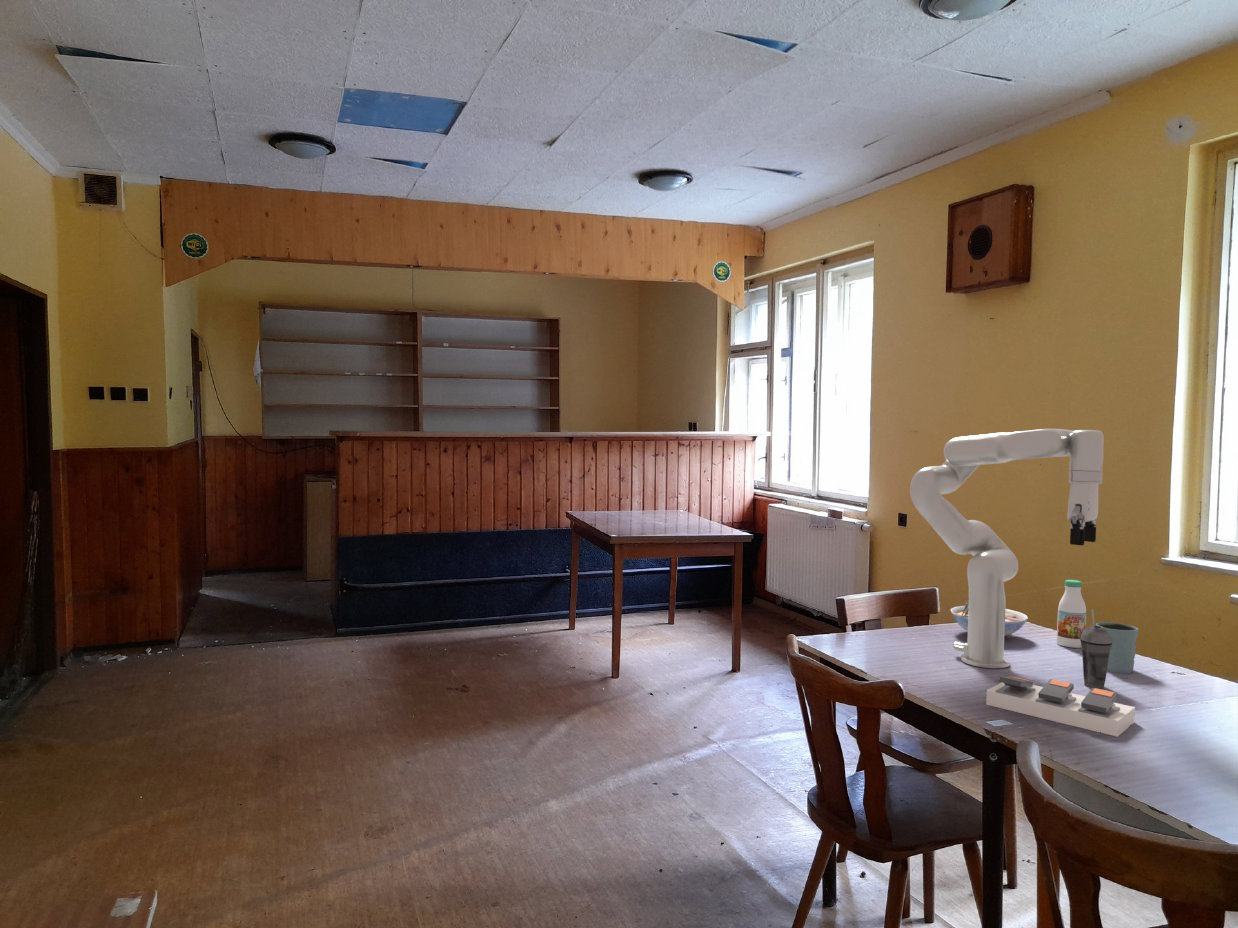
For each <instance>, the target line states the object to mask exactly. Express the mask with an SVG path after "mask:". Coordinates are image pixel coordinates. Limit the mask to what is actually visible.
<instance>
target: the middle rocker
mask: <svg viewBox="0 0 1238 928" xmlns="http://www.w3.org/2000/svg"><path fill="white" fill-rule="evenodd" d="M1074 686H1075V685H1074V683H1071V682H1068V681H1063V680H1058V679H1053V678H1050V679H1049V680H1048V681H1047V682H1046V684H1044V686H1042V687H1043V688H1042V689H1041V691H1040V692H1039V693H1038V696H1039V698H1042V699H1046V700H1051V701H1055V702H1059V703H1062V702H1063V701H1064V700H1065V699H1068V696H1069V694H1070V693H1072V692H1073V690H1074V689H1075V687H1074Z"/></svg>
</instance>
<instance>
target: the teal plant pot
mask: <svg viewBox="0 0 1238 928" xmlns="http://www.w3.org/2000/svg"><path fill="white" fill-rule="evenodd" d="M1095 626H1100V627H1102V628H1104V629H1106V630H1107V631H1108V633H1109V634H1110V636H1111V640H1112V645H1111V650H1110V652H1109V659H1108V666H1107V672H1109V673H1116V674H1131V673H1133V671H1134V666H1135V656H1136V650H1137V649H1136V648H1137V647H1136V646H1137V640H1138V634H1139V628H1138V627H1136V626H1134V625H1131V624H1125V623H1120V622H1119V623H1118V622H1111V621H1110V622H1107V621H1105V622H1097V623H1095Z"/></svg>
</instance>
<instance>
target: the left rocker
mask: <svg viewBox="0 0 1238 928" xmlns="http://www.w3.org/2000/svg"><path fill="white" fill-rule="evenodd" d="M998 682H999V683H1004V685H1006V686H1011V687H1015V688H1020V689H1024V690H1027V687H1033V685H1034V681H1033V680H1030V679H1026V678H1021V677H1017V676H999V677H998Z"/></svg>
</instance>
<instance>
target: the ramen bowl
mask: <svg viewBox="0 0 1238 928" xmlns="http://www.w3.org/2000/svg"><path fill="white" fill-rule="evenodd" d="M950 612H951V614H952V617H953V618H954V620H955V621H956V622H957V623H956V624H957V625H959V627H961V628H962V629H964V630H966V631H967V632H968V613H969V600H966V601H965V604H964V605H960V606H954V607H951V608H950ZM1028 619H1029V617H1028V615H1027V614H1026V613H1025V614H1024V613H1023V612H1020V611H1016V610H1012V609H1009V608H1005V633H1004V637H1007V636H1010V635H1013V634H1015V633H1016V632H1018V631H1019V630H1020V629H1021V628H1023V626H1024V625H1025V624H1026V623H1027V621H1028Z"/></svg>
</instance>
